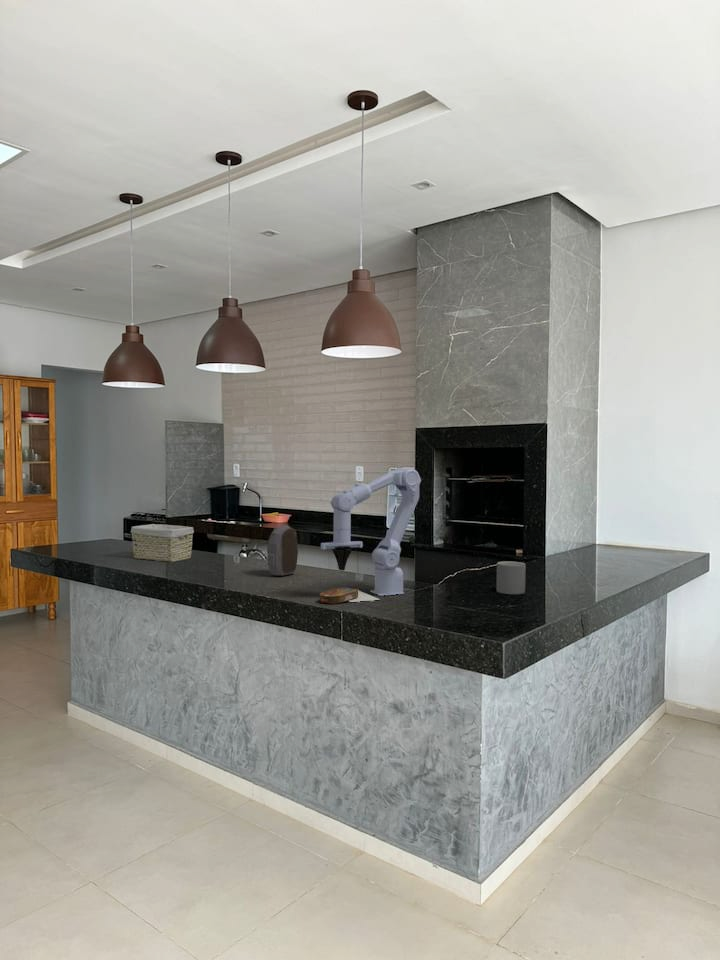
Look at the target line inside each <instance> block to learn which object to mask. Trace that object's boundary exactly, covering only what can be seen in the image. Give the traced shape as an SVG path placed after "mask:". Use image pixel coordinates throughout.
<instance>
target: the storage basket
mask: <svg viewBox="0 0 720 960" xmlns="http://www.w3.org/2000/svg"><path fill="white" fill-rule="evenodd" d="M194 533H195V531H194V527H193V526H187V525H186V526H184V525H173V524H171V525H170V524H162V523H160V524H158V523H157V524H155V523H150V524H141V525H134V526H131V529H130V534H131V539H132V550H133V557H134V558H135V559H139V560H148V561H149V560H151V561H156V562H171V563H174V562H179V561H184V560H188V559H191V557H192V549H193V537H194V536H193V535H194Z"/></svg>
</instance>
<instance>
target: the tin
mask: <svg viewBox="0 0 720 960" xmlns="http://www.w3.org/2000/svg"><path fill="white" fill-rule="evenodd" d="M358 590H359V588H358V587H354V586H342V587H336V588H333V589H329V590H326V591H323V592H320V593H319V600H320V602H321V603H324V604H330V605H332V604H333V605H335V604H342V603H345V602H347V601H349V600H352V599H355V598H357V597H358Z"/></svg>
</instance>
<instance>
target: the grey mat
mask: <svg viewBox="0 0 720 960" xmlns="http://www.w3.org/2000/svg"><path fill="white" fill-rule="evenodd" d="M374 600H380V601H381V599H380V598H378V597H375V596H373V595H371V594H368V593H366V592H363V591H361V590H359V589H358V597H357V598H355V599H352V600H349V602H348V603H350V602H358V603H361V602H360V601H370V602H375V601H374Z"/></svg>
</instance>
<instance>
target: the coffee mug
mask: <svg viewBox="0 0 720 960" xmlns="http://www.w3.org/2000/svg"><path fill="white" fill-rule="evenodd" d="M495 590H496V592H497V593H500V594H504V595H522V594H525V593H526V563H525V562H521V561H519V562H518V561H507V560H506V561H498V562H496V589H495Z"/></svg>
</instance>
